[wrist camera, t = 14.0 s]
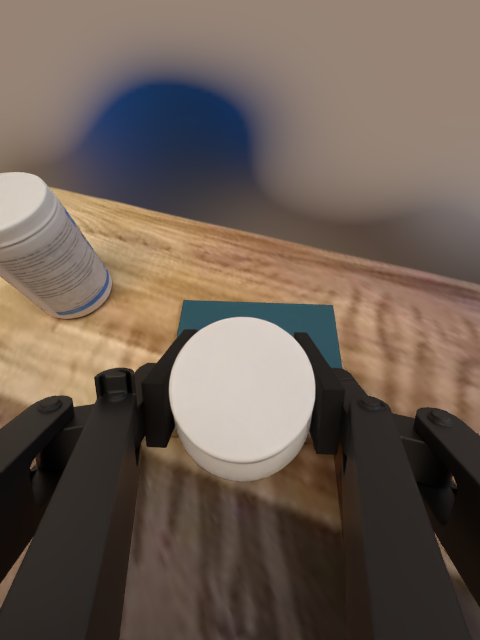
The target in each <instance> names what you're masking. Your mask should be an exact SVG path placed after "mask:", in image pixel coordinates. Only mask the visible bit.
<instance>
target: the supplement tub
mask: <svg viewBox="0 0 480 640" xmlns="http://www.w3.org/2000/svg"><path fill="white" fill-rule="evenodd" d="M0 276H1V277H2V278H3V279H5V280H6V281H7V282H8V283H10V284H11V285H12V286H13V287H15V288H16V289H17V290H18V291H20V292H21V293H22V294H23V295H25V296H26V297H27V298H29V299H30V300H31V301H32V302H34V303H35V304H36V305H37V306H39V307H40V308H41V309H42V310H44V311H45V312H46V313H48V314H49V315H51V316H53V317H56V318H61V319H71V318H78V317H82V316H85V315H87V314H89V313H91V312H93V311H94V310H96V309H97V308H98V307H100V306H101V305H102V304H103V303H104V302H105V300H106V299H107V297H108V296H109V294H110V291H111V287H112V279H111V276H110V273H109V272H108V270H107V269H106V267H105V266H104V264H103V263H102V261H101V260H100V258H99V257H98V256H97V254H96V253H95V251H94V250H93V248H92V247H91V245H90V244H89V242H88V241H87V240H86V238H85V237H84V235H83V234H82V232H81V231H80V229H79V228H78V226H77V225H76V224H75V222H74V221H73V219H72V218H71V216H70V215H69V213H68V212H67V211H66V209H65V208H64V206H63V205H62V204H61V202H60V201H59V199H58V198H57V197H56V196H55V194H54V193H53V192H52V191H51V190H50V189H49V188H48V186H47V185H46V184H45V182H44V181H43V180H42V179H40V178H39V177H37V176H35V175H33V174H29V173H23V172H11V173H2V174H0Z"/></svg>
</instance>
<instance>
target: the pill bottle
mask: <svg viewBox="0 0 480 640" xmlns="http://www.w3.org/2000/svg"><path fill="white" fill-rule="evenodd" d="M169 398H170V405H171V409H172V412H173V415H174V421H175V426H176V430H177V433H178V436H179V438H180V441H181V443H182V445H183V446H184V448H185V450H186V451H187V453H188V454H189V455H190V456H191V458H192V459H193V460H194V461H195V462H196V463H197V464H198V465H199V466H200V467H202V468H203V469H205V470H206V471H208V472H209V473H211V474H213V475H215V476H217V477H220V478H223V479H227V480H231V481H236V482H248V481H255V480H260V479H264V478H266V477H269V476H271V475H273V474H275V473H277V472H278V471H280V470H281V469H283V468H284V467H285V466H286V465H288V464H289V463H290V462H291V461H292V460H293V459H294V458H295V457H296V455H297V454H298V453H299V451H300V450H301V448H302V446H303V444H304V443H305V441H306V438H307V436H308V433H309V429H310V425H311V419H312V411H313V407H314V402H315V378H314V373H313V369H312V366H311V363H310V361H309V359H308V357H307V355H306V353H305V351H304V350H303V348H302V347H301V346H300V344H299V343H298V342H297V341H296V340H295V339H294V338H293V337H292V336H291V335H290V334H289V333H287V332H286V331H285V330H283V329H282V328H280V327H278V326H277V325H275V324H273V323H270V322H268V321H265V320H261V319H257V318H252V317H234V318H227V319H223V320H220V321H217V322H214V323H212V324H210V325H208V326H206V327H204V328H203V329H201V330H200V331H198V332H197V333H196V334H194V335H193V336H192V337H191V338H190V339H189V340H188V341H187V343H186V344H185V345H184V346H183V348H182V349H181V351H180V352H179V354H178V356H177V358H176V360H175V363H174V365H173V367H172V371H171V376H170V382H169Z"/></svg>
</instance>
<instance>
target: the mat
mask: <svg viewBox="0 0 480 640" xmlns="http://www.w3.org/2000/svg"><path fill="white" fill-rule="evenodd" d="M234 317H252V318H257V319H261V320H265V321H268V322H270V323H273V324H275V325H277V326H278V327H280V328H282V329H283V330H285V331H286V332H287V333H289V334H290V335H291V336H292V337H293V338H294V332H306V333H308V335H309V336H310V338H311V339H312V340H313V342H314V343H315V345H316V346H317V348H318V349H319V351H320V352H321V354H322V355H323V357H324V358H325V360H326V361H327V363H328V364H329V366H330V367H331V368H342V364H341V357H340V350H339V343H338V337H337V330H336V323H335V317H334V310H333V305H313V304H283V303H253V302H223V301H193V300H184V301H183V306H182V312H181V317H180V323H179V328H178V334H177V337H178V336H179V335H180V334H181V333H182V331H183V330H184V329H197V332H198V331H200V330H201V329H203V328H204V327H206V326H208V325H210V324H212V323H214V322H217V321H220V320H223V319H227V318H234Z"/></svg>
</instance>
